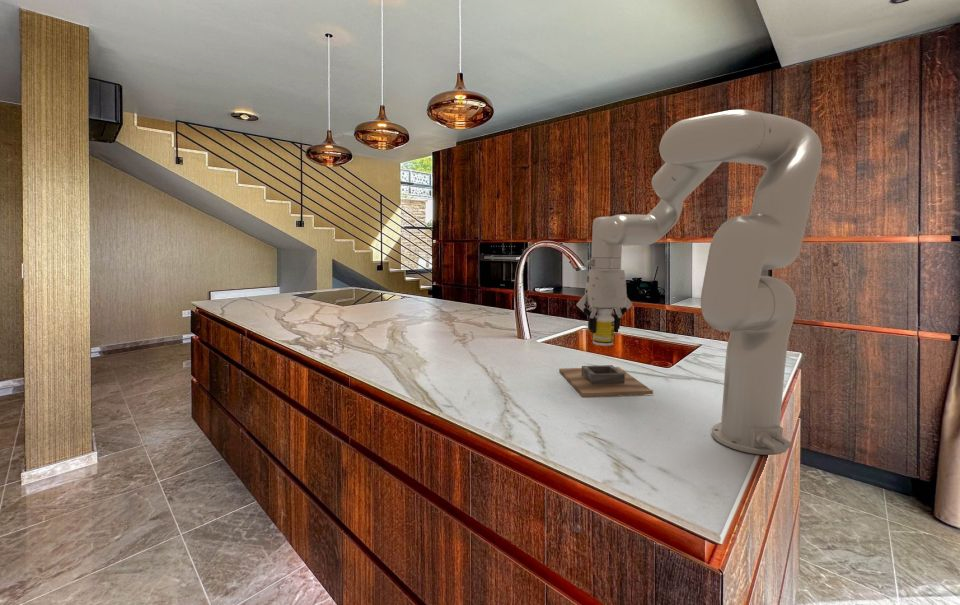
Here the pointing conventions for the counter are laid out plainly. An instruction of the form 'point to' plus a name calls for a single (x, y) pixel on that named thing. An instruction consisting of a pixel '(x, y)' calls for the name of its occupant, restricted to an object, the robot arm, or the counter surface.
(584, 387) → the collar board
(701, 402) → the counter surface
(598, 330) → the supplement bottle
